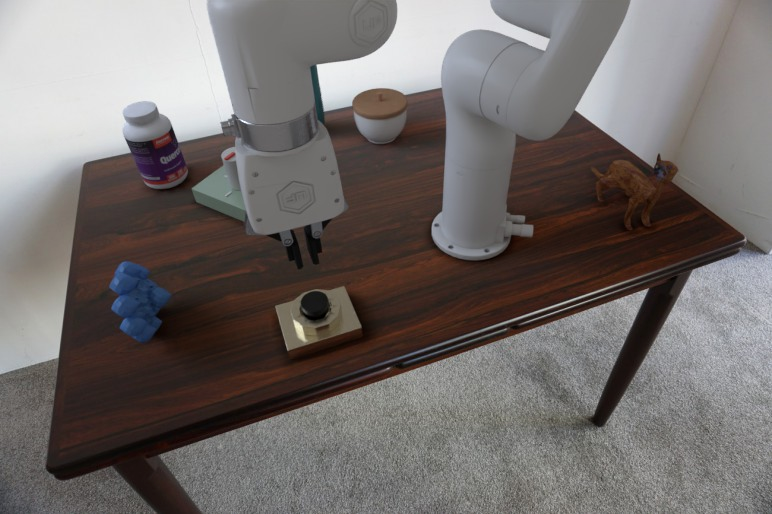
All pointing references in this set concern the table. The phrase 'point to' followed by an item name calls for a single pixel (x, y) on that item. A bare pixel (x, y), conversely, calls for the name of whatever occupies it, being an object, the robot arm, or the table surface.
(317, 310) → the button
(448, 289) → the table surface
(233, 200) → the dial panel
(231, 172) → the dial
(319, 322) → the button box
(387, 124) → the trinket box
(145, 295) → the blue lumpy lobed piece
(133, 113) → the pill bottle
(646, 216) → the cat figurine
